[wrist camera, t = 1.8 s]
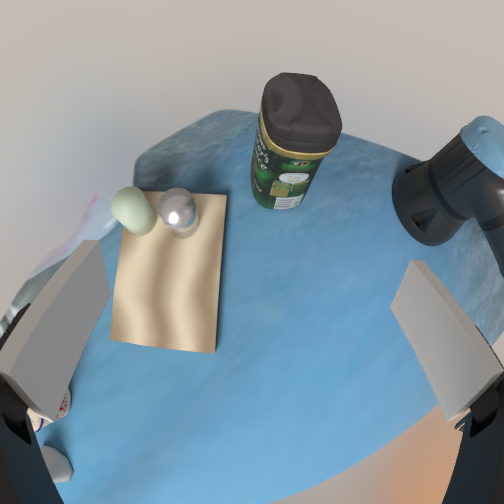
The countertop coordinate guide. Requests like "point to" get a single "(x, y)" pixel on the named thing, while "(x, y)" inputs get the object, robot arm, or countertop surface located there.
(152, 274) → the birch board
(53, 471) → the flask
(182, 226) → the shiny silver cylinder
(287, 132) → the coffee jar
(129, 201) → the sage tin
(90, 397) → the countertop surface
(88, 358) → the countertop surface
